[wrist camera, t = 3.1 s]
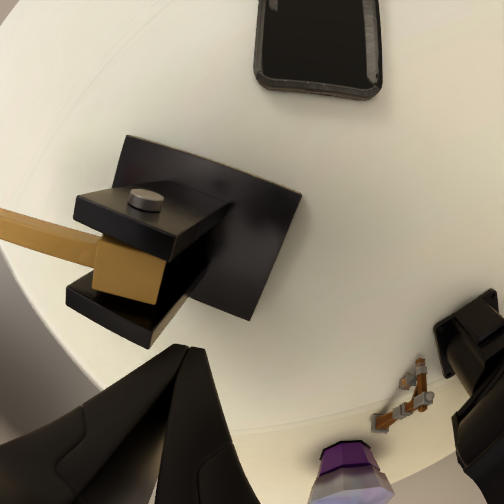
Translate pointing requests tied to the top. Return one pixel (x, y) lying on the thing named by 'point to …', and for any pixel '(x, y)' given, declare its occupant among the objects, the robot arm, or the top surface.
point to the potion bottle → (350, 476)
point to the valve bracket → (184, 235)
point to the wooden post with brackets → (418, 402)
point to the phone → (319, 47)
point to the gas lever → (90, 255)
